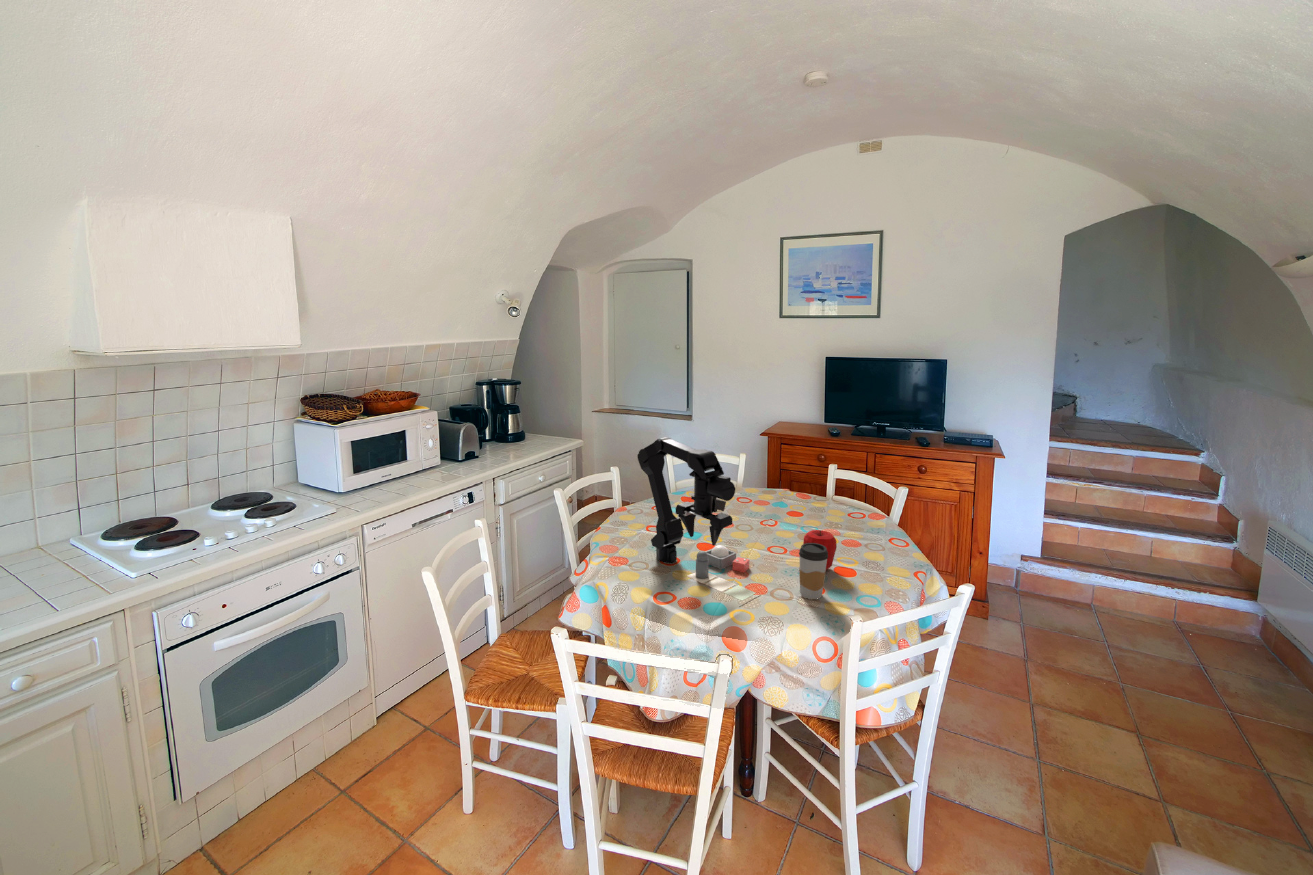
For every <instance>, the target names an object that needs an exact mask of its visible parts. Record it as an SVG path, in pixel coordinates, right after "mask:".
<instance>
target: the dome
mask: <svg viewBox="0 0 1313 875" xmlns="http://www.w3.org/2000/svg"><path fill="white" fill-rule="evenodd" d="M711 549H712V551H711V555H713V556H716V557H718V558H724V557H726V556H728V555H729V551H728V550H729V549H728V548H727V547H726V546H724V545H723V544H722V545H721V544H720V545H719V544H718V545H717V544H716V545H714V547H712V548H711Z"/></svg>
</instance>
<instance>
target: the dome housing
mask: <svg viewBox="0 0 1313 875" xmlns="http://www.w3.org/2000/svg"><path fill="white" fill-rule="evenodd" d="M712 549H713V548H711V549H708V550H705V552H706V553H707V554H708V559H709V566H712V567H714V568H717V569H719V570H723V569H725V568H728V567H729V566H733V561H734V560H735V559H736V558H737V552H735V551H733V550H730V549H728V551H729V555H728V556H726V557H724V558H718V557H716V556H713V555H711V551H712Z"/></svg>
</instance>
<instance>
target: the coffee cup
mask: <svg viewBox="0 0 1313 875" xmlns="http://www.w3.org/2000/svg"><path fill="white" fill-rule="evenodd" d="M798 555H799V567H798V569H799V571H798V573H799V579H798V580H799V593H800V595H801V597H802V596H803V598H804V597H805V598H804V599H806V598H808V599H807V600H810V599H816V600H818V599H817V598H819V599H820V598H821V597H822V596H823V590H824V586H825V578H826V573H827V570H826V564H827V558H828V551H827V548H826V547H825V546H823V545H821V544H817V543H805V544H801V547H800V548H799V551H798Z"/></svg>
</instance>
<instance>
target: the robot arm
mask: <svg viewBox="0 0 1313 875" xmlns="http://www.w3.org/2000/svg"><path fill="white" fill-rule="evenodd" d="M667 455H670V456H672V457H674V458H676V459H678V460H680V461H682V462H684V463H686V464H687V467H688V468H689V469H691V470H692V471H691V472H690V473H688V474H689V476H690V477H692V478H694V479H693V480H694V481H693V482H694V483H693V484H694V485H693V486H694V487H693V488H694V490H693V495H691V500H693V502H690V501H684V502H681V503H679V504H677V505H676V507H675V515H677V516H678V517H679V518H677V517H676V516H675V515H674V513H673V509H672V508H673V507H672V505H671V501H670V500H671V499H670V497H669V493H668V489H667V485H666V481H665V476H664V473H663V471H664V467H665V462H666V461H665V457H666V456H667ZM637 461H638V465H639V466H640V469H641V470H642V471H643V472H644V473H645V474H646V475H647V478H648V482H649V485H650V490H651V493H652V498H653V502H654V506H655V509H656V510H655V511H656V514H657V521H656V526H655V530H656V534H655V535H654V536H653V537H652V538H651V540H650V542H651V546H652V547H654V548H655V550H656V552H655V554H656V555H655V556H656V557H655V558H657V560H658V561H659V562H661V563H665V564H667V563H668V564H673V563H676V562H677V556H678V555H677V554H678V552H677V545H679V544H681V541H682V539H683V536H684V530H685V529H686V531H687V533H688V535H689V537H690V538H692V537H694V535H695V534H694V533H695V519H696V517H697V516H698V517H701V518H703V519H706V520H709V525H710V526H709V533H710V534H709V535H710V540H711V545H712V546H714V547H715V546H717V542H718V541H719V540H718V539H719V538H720V534H721V533H722V531H723V529H724V528H727V527H729V526H731V525H733V517H732V516H731V515H730V514H727V513H724V512H725V509H726V508H725V507H726V504H727V502H729V501H731V500H732V499H733V498H734V496H735V494H736V487H735V484H734V483H733V482H732V481H731V477H729V476H724V474H725V472H724V470H723V467H722V466H721V464H720V462H719V458H718V457H717V456H716V453H715V452H714V451H713V450H708V449H699V448H698V449H696V448H692V447H691V446H688V445H686V444H684V443H681V442H679V441H676V440H674V439H672V437H669V436H665V437H661V438H657V439H656V440H654V441H653V442H652V443H651V444H649V445H647V446H645V447H644V448H642V449H640V450H639V451H638V454H637ZM718 511H721V512H720V513H717V512H718ZM714 513H717V514H714ZM683 524H684V525H683ZM683 526H684V527H685V529H684V527H683Z"/></svg>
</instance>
